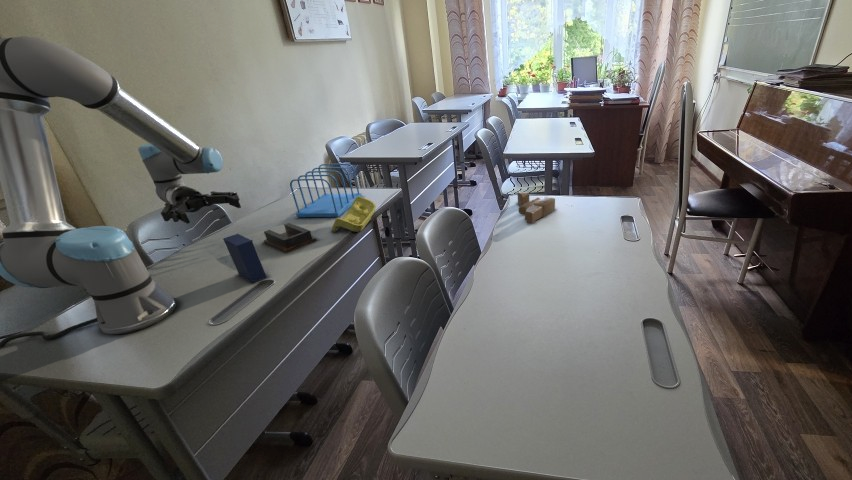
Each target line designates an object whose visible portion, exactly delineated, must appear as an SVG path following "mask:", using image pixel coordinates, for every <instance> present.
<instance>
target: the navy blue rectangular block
mask: <svg viewBox="0 0 852 480" xmlns="http://www.w3.org/2000/svg"><path fill="white" fill-rule="evenodd" d="M222 239H223V242H224V244H225V246H226V248H227V251H228V253H229V255H230V257H231V260H232V262H233V264H234V267H235V269H236V271H237V273H238V275H239V276H240V277H242V278H243V279H245V280H247V282H248V281H249V282H250V283H252V284H255V283H257V282H259V281H262V280H264V279H267V274H266V271H265V269H264V267H263V264H262V262H261V259H260V256H259V254H258V252H257V249H256V247H255V245H254V241H253V239H250V238H248V237H245V236H243V235H242V234H239V233H236V234H232V235H229V236H227V237H224V238H222Z"/></svg>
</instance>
